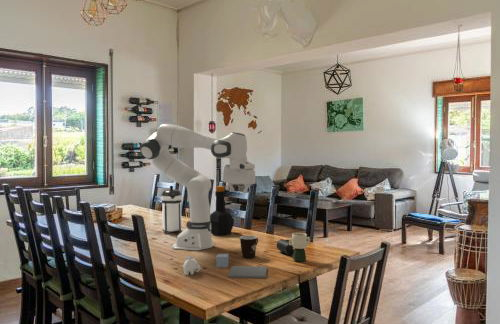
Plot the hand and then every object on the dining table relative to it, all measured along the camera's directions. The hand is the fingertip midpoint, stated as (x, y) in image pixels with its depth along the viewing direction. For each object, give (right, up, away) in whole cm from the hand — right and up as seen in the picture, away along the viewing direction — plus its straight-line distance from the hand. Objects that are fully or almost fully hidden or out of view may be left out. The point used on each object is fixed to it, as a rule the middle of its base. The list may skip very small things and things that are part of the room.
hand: (238, 192), depth 210 cm
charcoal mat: (+5, -34, -25) cm, 42 cm away
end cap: (+25, -32, +6) cm, 41 cm away
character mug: (+30, -33, -7) cm, 45 cm away
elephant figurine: (-20, -34, -25) cm, 47 cm away
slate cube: (-7, -33, -14) cm, 37 cm away
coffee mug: (+6, -33, +1) cm, 33 cm away
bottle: (-13, -30, +55) cm, 64 cm away
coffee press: (-45, -30, +62) cm, 82 cm away
